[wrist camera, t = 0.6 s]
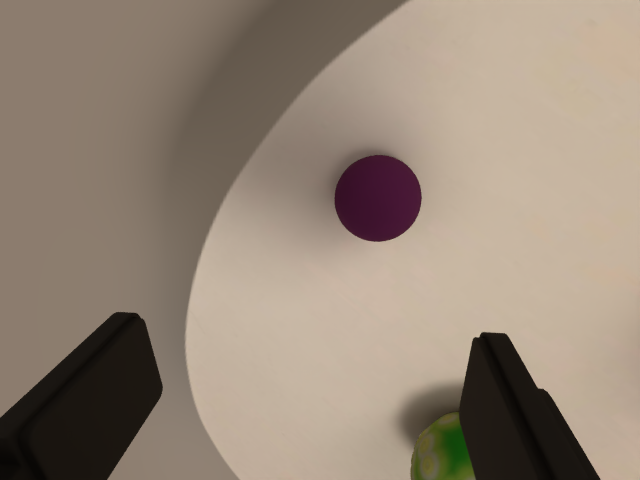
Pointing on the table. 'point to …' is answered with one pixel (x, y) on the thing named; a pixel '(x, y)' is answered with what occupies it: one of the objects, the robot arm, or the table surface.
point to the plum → (378, 198)
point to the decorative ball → (442, 452)
